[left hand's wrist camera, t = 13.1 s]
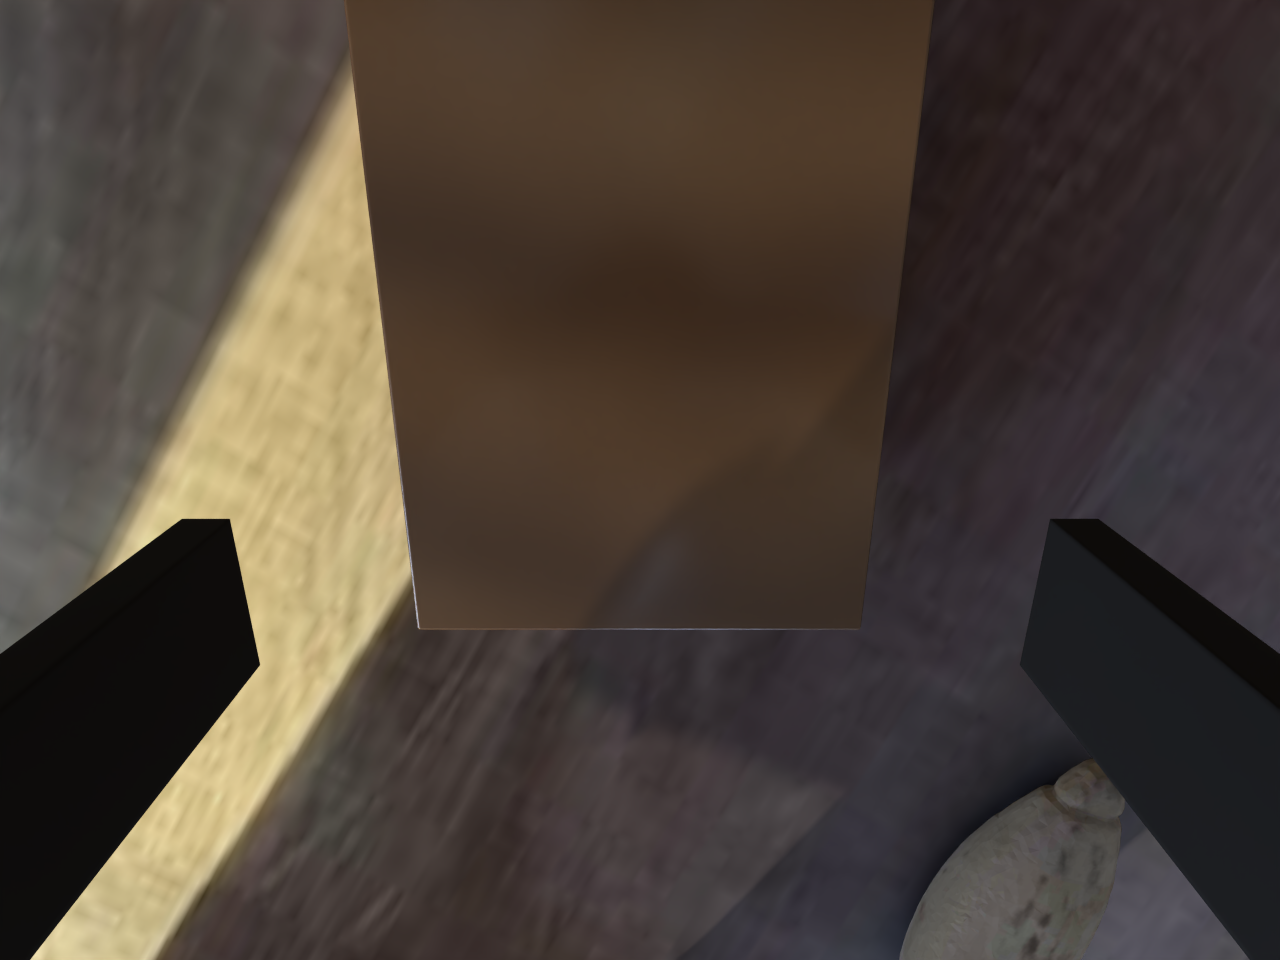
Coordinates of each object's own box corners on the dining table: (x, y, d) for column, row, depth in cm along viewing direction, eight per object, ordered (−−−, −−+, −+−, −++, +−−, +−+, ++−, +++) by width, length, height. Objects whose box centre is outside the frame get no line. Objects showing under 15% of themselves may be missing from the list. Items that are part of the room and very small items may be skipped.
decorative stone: (1153, 759, 31) (1213, 826, 27) (973, 1017, 36) (1005, 1098, 33) (1013, 719, 30) (1057, 783, 27) (850, 987, 35) (871, 1068, 32)
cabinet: (433, -113, 20) (308, -289, 13) (846, -113, 20) (970, -288, 13) (481, 500, 27) (417, 631, 19) (797, 501, 27) (861, 631, 19)
